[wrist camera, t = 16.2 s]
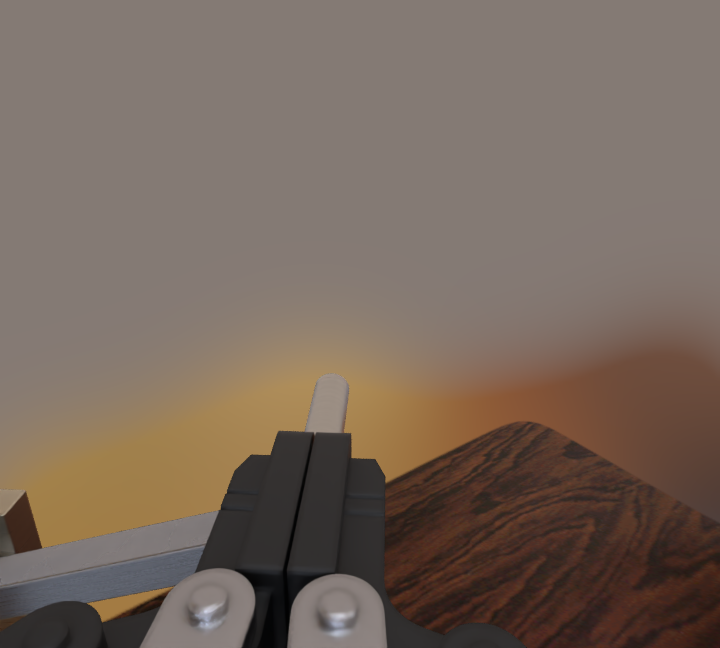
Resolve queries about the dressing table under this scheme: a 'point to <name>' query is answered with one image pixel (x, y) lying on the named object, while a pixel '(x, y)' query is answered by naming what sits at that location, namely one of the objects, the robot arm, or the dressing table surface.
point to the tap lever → (134, 544)
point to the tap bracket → (16, 530)
